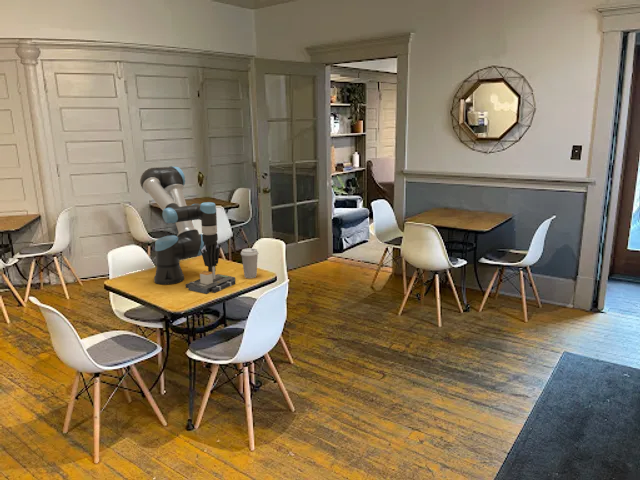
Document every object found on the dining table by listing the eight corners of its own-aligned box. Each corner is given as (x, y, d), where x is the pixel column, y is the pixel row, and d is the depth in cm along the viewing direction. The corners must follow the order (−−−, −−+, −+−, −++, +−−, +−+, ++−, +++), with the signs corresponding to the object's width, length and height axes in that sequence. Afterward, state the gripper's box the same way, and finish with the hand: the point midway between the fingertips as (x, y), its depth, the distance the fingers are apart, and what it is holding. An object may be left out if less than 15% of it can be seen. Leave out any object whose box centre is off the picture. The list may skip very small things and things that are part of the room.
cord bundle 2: (211, 292, 240) (210, 288, 239) (232, 283, 253) (231, 279, 253) (215, 293, 238) (214, 289, 238) (236, 284, 252) (235, 280, 252)
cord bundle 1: (185, 287, 247) (184, 283, 246) (209, 278, 262) (209, 274, 262) (191, 289, 245) (191, 285, 244) (215, 279, 260) (215, 275, 259)
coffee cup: (256, 279, 259) (255, 252, 256) (239, 278, 261) (237, 251, 257) (261, 274, 268) (260, 248, 265) (245, 273, 270) (244, 247, 267)
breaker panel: (188, 290, 243) (188, 285, 242) (217, 278, 262) (217, 273, 261) (206, 293, 237) (206, 288, 237) (235, 281, 256) (235, 276, 255)
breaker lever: (200, 283, 245) (199, 272, 244) (205, 281, 248) (204, 270, 247) (208, 284, 243) (207, 273, 241) (212, 282, 246) (212, 272, 244)
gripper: (206, 236, 236) (209, 283, 241) (224, 231, 247) (226, 276, 252) (194, 235, 240) (197, 280, 245) (213, 230, 251) (215, 274, 256)
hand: (212, 278), depth 249 cm, fingers closed
